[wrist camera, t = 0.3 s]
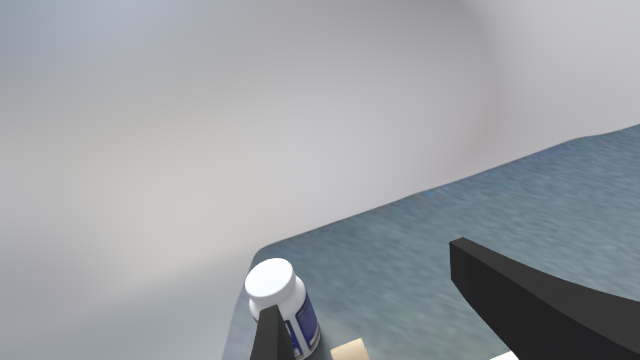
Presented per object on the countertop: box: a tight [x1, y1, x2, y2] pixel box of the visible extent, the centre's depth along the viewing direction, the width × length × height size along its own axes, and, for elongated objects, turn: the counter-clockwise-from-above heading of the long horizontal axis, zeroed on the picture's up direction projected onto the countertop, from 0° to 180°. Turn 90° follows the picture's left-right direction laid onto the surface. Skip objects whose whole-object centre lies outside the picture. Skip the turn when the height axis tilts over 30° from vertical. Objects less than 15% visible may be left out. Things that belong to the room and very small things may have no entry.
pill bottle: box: [245, 258, 320, 360], centre depth 32 cm, size 6×6×10 cm
